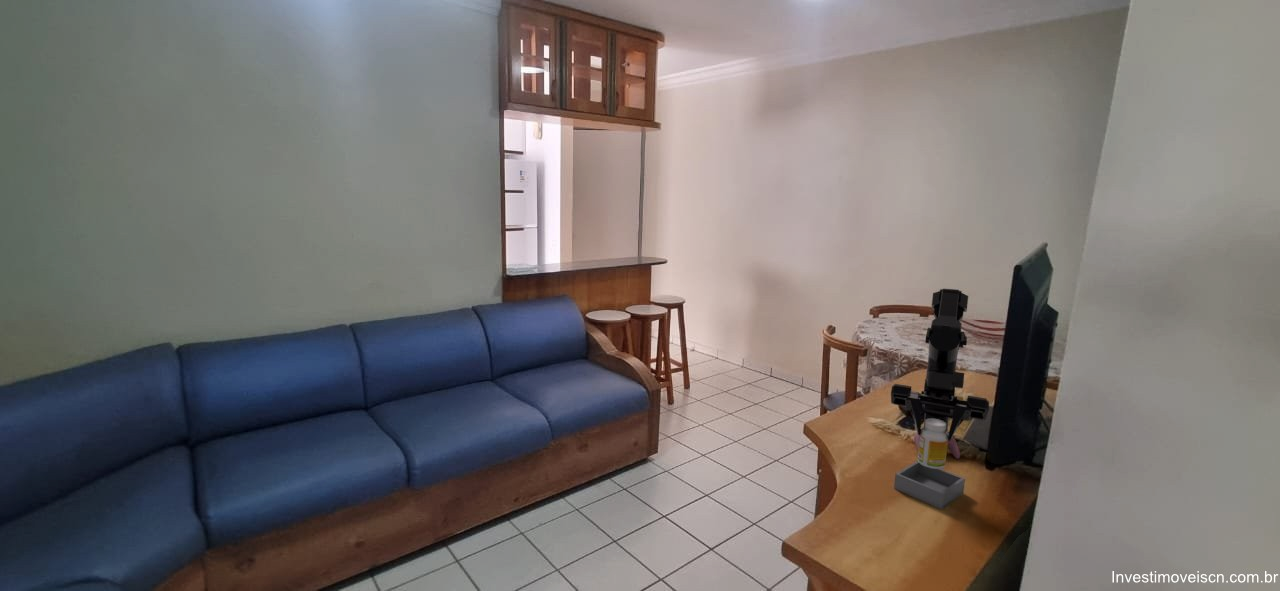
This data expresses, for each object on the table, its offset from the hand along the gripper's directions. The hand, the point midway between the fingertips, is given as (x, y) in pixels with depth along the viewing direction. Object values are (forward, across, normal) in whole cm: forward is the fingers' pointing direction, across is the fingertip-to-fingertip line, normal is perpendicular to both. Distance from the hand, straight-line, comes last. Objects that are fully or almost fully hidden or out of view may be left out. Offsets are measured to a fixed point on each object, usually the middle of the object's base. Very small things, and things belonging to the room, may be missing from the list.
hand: (933, 437), depth 116 cm
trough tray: (+8, 0, +10) cm, 13 cm away
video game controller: (-5, +1, +25) cm, 25 cm away
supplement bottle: (+4, 0, +6) cm, 7 cm away
